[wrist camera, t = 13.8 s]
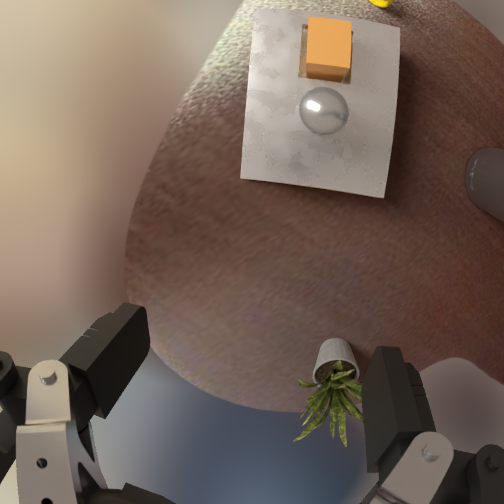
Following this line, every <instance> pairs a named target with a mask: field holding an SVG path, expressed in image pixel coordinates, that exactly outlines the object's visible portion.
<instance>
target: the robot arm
mask: <svg viewBox="0 0 504 504" xmlns="http://www.w3.org/2000/svg"><path fill="white" fill-rule="evenodd" d="M465 185H466V190H467V193H468V195H469V197H470V199H471V200H472V202H473V203H474V204H475V205H476V206H477V207H479V208H481V209H482V210H484V211H486V212H487V213H489V214H491V215H492V216H494V217H495V218H497V219H499V220H500V221H502V222H504V150H502V149H497V148H492V147H485V148H481V149H479V150H478V151H476V152H475V153H474V154H473V155H472V157H471V158H470V160H469V162H468V164H467V168H466V172H465ZM149 348H150V336H149V329H148V321H147V313H146V309H145V308H144V307H142V306H138V305H134V304H130V303H123V304H122V305H121V306H120V307H119V308H118V309H117V310H116V311H115V312H114V313H108V314H106V315H104V316H103V317H101V318H99V319H97V320H96V321H95V322H94V323H93V324H92V325H91V327H90V329H88V330H87V331H86V332H85V333H84V334H83V336H81V337H80V338H79V339H78V340H77V341H76V342H75V343H74V344H73V345H72V346H71V347H70V348H69V350H68V351H67V352H66V353H65V354H64V355H63V356H62V357H61V358H60V359H59V360H58V361H57V360H45V361H42V362H40V363H38V364H36V365H35V366H34V367H33V368H26V367H20V366H15V364H14V362H13V359H12V357H11V356H10V355H9V354H8V353H6V352H2V351H1V352H0V406H1V407H2V409H3V410H2V412H1V413H0V484H1V482H2V480H3V479H4V477H5V475H6V474H7V472H8V470H9V468H10V467H11V465H12V464H13V462H14V461H15V459H16V467H17V482H18V494H19V504H175V503H174V502H172V501H170V500H168V499H166V498H165V497H163V496H161V495H158V494H155V493H152V492H149V491H147V490H144V489H141V488H139V487H136V486H133V485H131V484H128V483H125V485H124V488H123V489H122V490H120V489H108V486H107V484H106V481H105V479H104V477H103V474H102V472H101V469H100V466H99V462H98V457H97V452H96V447H95V442H94V438H93V431H92V425H91V422H90V419H91V418H92V416H93V415H96V416H99V417H101V418H103V419H106V417H107V416H108V414H109V413H110V411H111V410H112V408H113V406H114V405H115V403H116V402H117V400H118V399H119V397H120V396H121V394H122V392H123V391H124V389H125V388H126V387H127V385H128V384H129V382H130V380H131V379H132V378H133V376H134V375H135V373H136V371H137V370H138V368H139V367H140V366H141V364H142V363H143V361H144V360H145V358H146V356H147V354H148V352H149ZM361 399H362V408H363V419H364V430H365V441H366V442H365V443H366V459H367V472H368V473H373V472H374V473H376V472H379V481H378V482H377V483H376V484H375V485H374V486H373V488H372V489H371V490H370V492H369V493H368V494H367V495H366V496H365V497H364V498H363V500H362V501H361V502H360V503H359V504H504V449H502V448H501V447H499V446H497V445H493V444H489V445H486V446H484V447H482V448H481V449H480V450H479V451H478V452H477V453H476V454H473V453H468V452H462V451H458V450H454V449H453V447H452V445H451V443H450V442H449V440H448V439H447V438H445V436H443V435H441V434H439V433H437V432H436V429H435V425H434V421H433V418H432V414H431V410H430V407H429V403H428V400H427V397H426V393H425V390H424V388H423V384H422V380H421V377H420V374H419V373H418V371H417V370H416V369H415V368H414V366H413V365H412V364H411V363H404V359H403V356H402V353H401V350H400V348H399V347H388V346H377V347H376V349H375V351H374V354H373V356H372V359H371V361H370V364H369V366H368V369H367V371H366V373H365V376H364V378H363V382H362V387H361Z"/></svg>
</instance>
